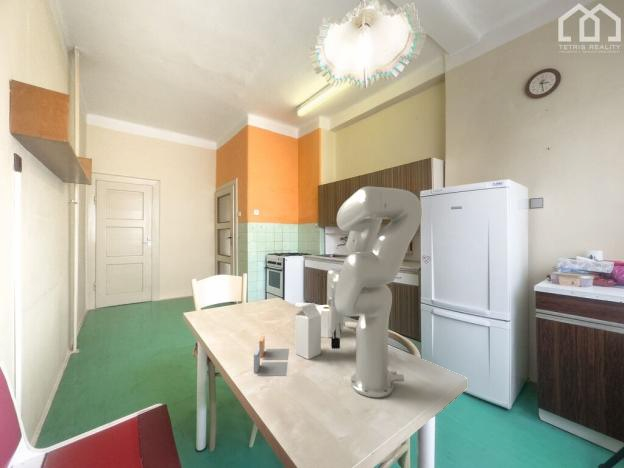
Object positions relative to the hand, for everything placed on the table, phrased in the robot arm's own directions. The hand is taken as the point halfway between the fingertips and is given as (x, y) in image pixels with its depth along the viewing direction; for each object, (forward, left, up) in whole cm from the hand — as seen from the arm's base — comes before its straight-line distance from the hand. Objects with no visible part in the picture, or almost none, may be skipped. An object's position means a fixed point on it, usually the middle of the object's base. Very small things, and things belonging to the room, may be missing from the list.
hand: (335, 347), depth 102 cm
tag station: (+23, +6, -2) cm, 24 cm away
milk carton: (+11, +1, -2) cm, 11 cm away
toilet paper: (+2, -20, -2) cm, 20 cm away
